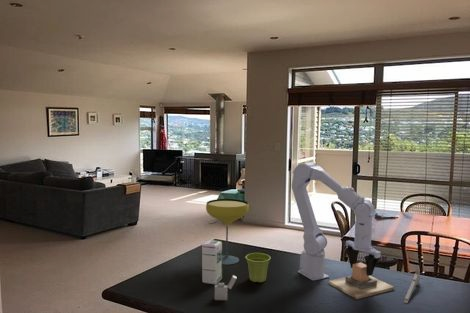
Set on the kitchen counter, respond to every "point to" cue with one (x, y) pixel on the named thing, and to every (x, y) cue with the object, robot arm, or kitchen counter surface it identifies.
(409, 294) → the caliper
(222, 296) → the lighter
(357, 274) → the orange wooden block
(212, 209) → the cocktail glass
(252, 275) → the plant pot
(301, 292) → the kitchen counter surface
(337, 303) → the kitchen counter surface
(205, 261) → the syrup box
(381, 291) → the dock
